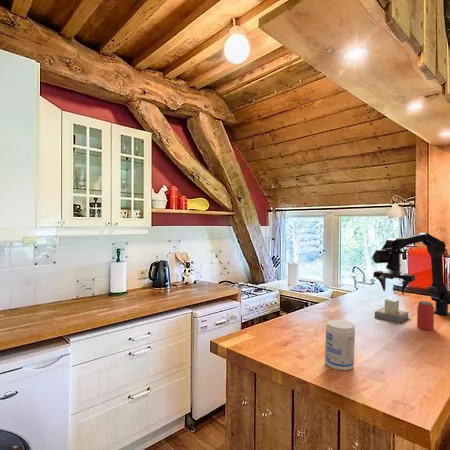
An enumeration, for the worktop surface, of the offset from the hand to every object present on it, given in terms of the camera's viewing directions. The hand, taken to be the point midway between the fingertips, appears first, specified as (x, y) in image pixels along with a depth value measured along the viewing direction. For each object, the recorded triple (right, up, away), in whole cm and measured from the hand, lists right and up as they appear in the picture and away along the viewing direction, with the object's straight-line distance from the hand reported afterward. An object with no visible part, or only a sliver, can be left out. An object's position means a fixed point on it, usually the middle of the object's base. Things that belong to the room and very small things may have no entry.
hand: (393, 292), depth 170 cm
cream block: (-2, -10, -2) cm, 10 cm away
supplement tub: (-48, -14, -56) cm, 75 cm away
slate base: (-2, -13, -2) cm, 13 cm away
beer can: (+6, -13, -18) cm, 23 cm away
